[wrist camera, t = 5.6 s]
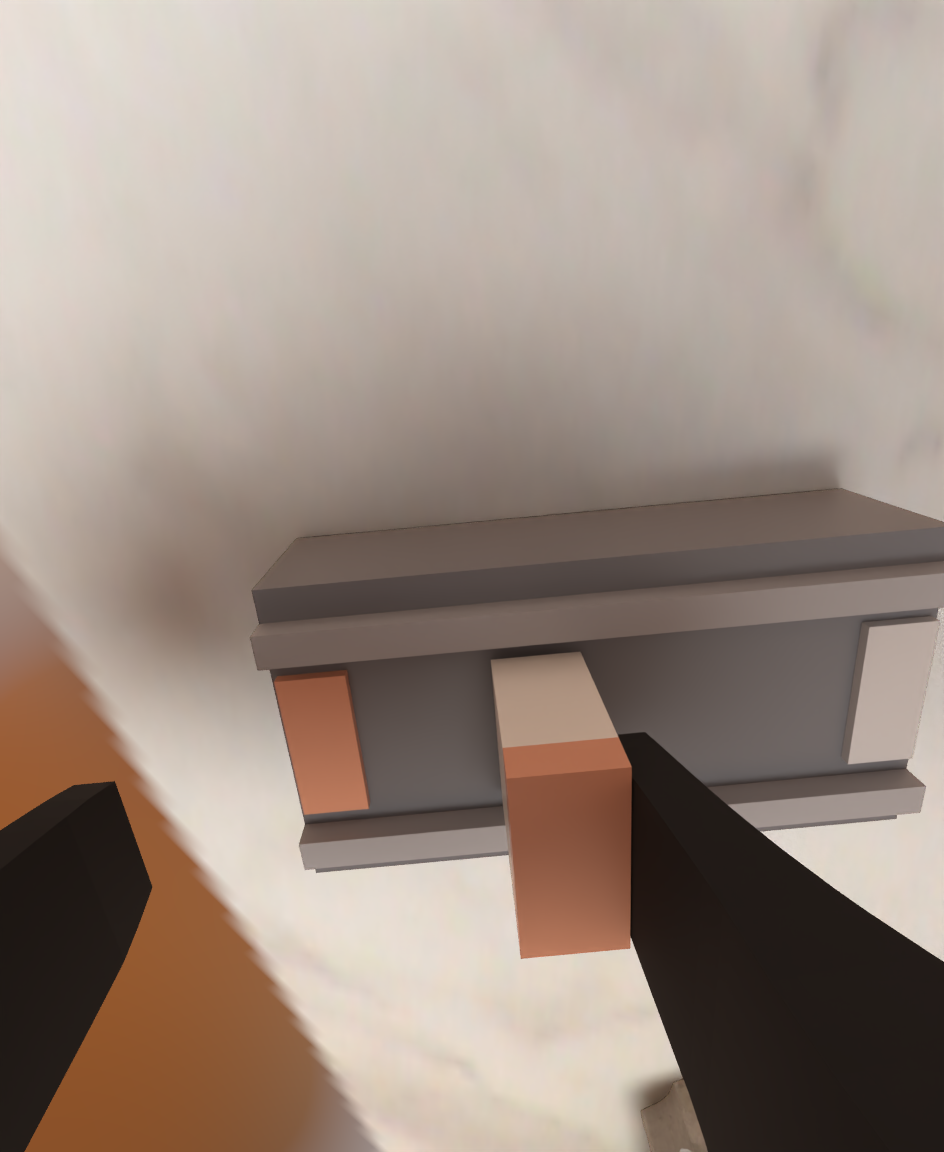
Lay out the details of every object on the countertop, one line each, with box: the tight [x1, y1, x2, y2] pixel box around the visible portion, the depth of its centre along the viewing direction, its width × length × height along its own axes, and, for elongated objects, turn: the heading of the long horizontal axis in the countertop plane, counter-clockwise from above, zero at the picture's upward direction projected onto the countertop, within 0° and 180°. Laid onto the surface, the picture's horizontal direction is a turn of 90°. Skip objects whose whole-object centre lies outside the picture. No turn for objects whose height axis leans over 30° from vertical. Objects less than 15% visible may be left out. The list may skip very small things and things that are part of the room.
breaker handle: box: [491, 652, 632, 959], centre depth 9 cm, size 2×3×3 cm, turn 5°
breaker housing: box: [250, 488, 944, 873], centre depth 12 cm, size 12×6×4 cm, turn 95°
